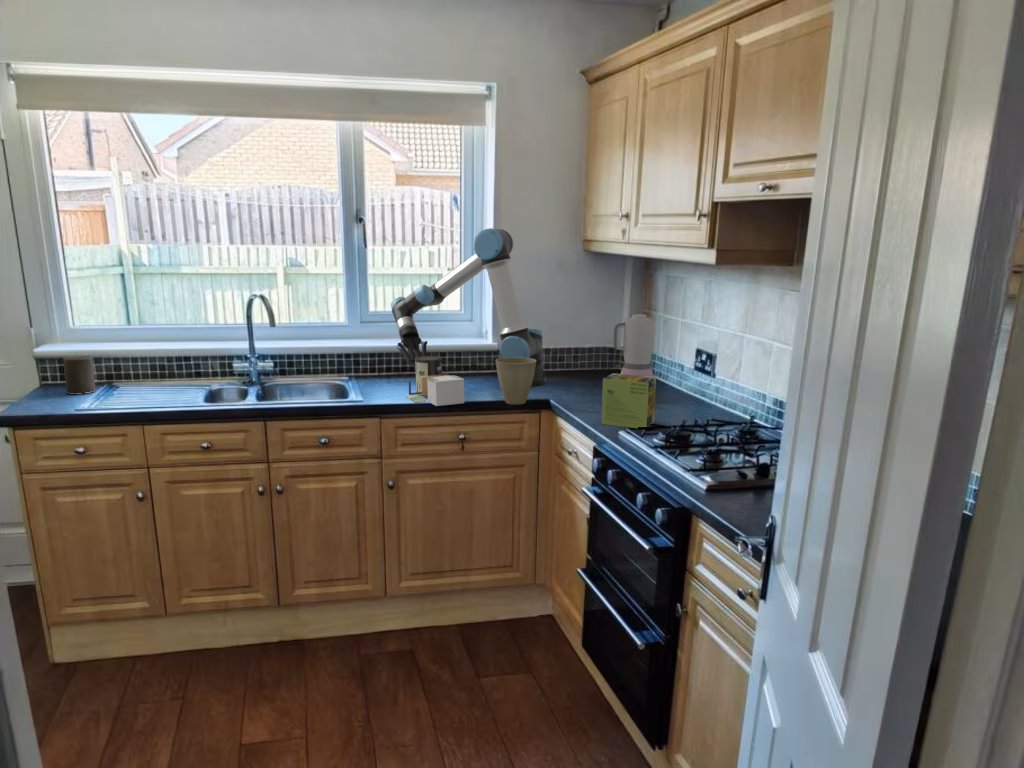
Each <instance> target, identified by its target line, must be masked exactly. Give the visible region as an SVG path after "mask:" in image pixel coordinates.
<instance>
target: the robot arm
mask: <svg viewBox="0 0 1024 768" xmlns="http://www.w3.org/2000/svg"><path fill="white" fill-rule="evenodd" d="M472 247H473V249H472V250H473V252H474V253H473V254H471V256H469V257H467V259H465V260H464V261H463V262H461V263H460V264H458V266H456V267H455V268H453V269H452V270H451V271H450V272H448V273H447V274H445V275H444V276H442V278H440V279H439V280H437V281H436V282H435V283H434V284H432V285H431V286H428V285H426V284H422V285H420V286H419V287H417V288H416V289H415V290H413V292H412V293H410V294H408V295H407V296H406V297H404V296H397V297H396V298H393V299H392V301H391V303H390V308H391V313H392V315H393V319H394V320H395V324H396V327H397V332H398V334H399V338H400V342H398V343H397V346H396V348H397V349H398V351H400V353H401V354H402V356H403V357H404V359H405V362H406V363H407V364H408V365H411V366H412V368H414V371H415V372H416V361H415V358H417V357H421V356H428V353H427V345H428V340H422V338H421V337H420V334H419V331H418V329H417V325H416V322H415V319H414V316H413V315H415V314H416V313H418V312H419V311H420V310H422V309H424V308H428V307H431V306H438V305H440V304H442V303H443V302H444V301H445V299H446V298H447V297H448V296H449V295H451V294H452V293H454V292H455V291H457V290H458V289H459V288H461V287H462V286H463V285H465V284H466V283H467V282H470V280H471V279H473V278H474V277H476V276H477V275H478V274H480V273H481V272H482V271H484V270H486V272H487V274H488V279H489V283H490V287H491V292H492V294H493V299H494V302H495V306H496V307H495V308H496V310H497V315H498V318H499V322H500V326H501V331H500V332H499V337H500V341H501V343H500V346H499V354H500V355H501V358H508V357H523V358H531V359H535V360H536V366H535V372H534V377H533V381H532V385H531V387H532V386H534V387H535V386H541V385H545V384H547V377H546V373H545V369H544V366H543V338H544V336H543V331H542V329H540V328H529V327H528V326H527V325H526V324H524V323H523V318H522V315H521V311H520V307H519V303H518V299H517V293H516V291H515V286H514V283H513V279H512V276H511V275H512V274H511V271H510V267H509V263H510V261H511V256H510V254H511V253H512V251H513V249H514V248H513V247H514V240H513V237H512V235H511V234H510V233H509V232H507V230H504V229H503V228H502V229H501V228H500V229H499V228H498V229H496V228H486V229H483V230H480V231H479V232H478V233H477V234H476V235H475V237H474V239H473V244H472ZM420 346H421V350H420ZM421 352H422V353H421Z"/></svg>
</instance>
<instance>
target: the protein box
mask: <svg viewBox="0 0 1024 768" xmlns="http://www.w3.org/2000/svg"><path fill="white" fill-rule="evenodd" d="M656 383H657V376H653V377H652V376H640V375H627V374H621V373H615V372H614V373H611V374H609V375H607V376H605V377H603V379H602V393H601V395H602V396H601V419H600V420H601V421H600V424H601V425H606V426H614V427H624V428H631V429H638V427H647V426H648V425H650V424H652V425H653V424H654V423H655V410H656V409H655V407H656V388H657V387H656V386H657V384H656ZM650 426H651V425H650Z"/></svg>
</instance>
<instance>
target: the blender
mask: <svg viewBox="0 0 1024 768" xmlns="http://www.w3.org/2000/svg"><path fill="white" fill-rule="evenodd" d="M656 320H657V319H655V318H654V319H653V318H652V317H647V314H640V313H639V314H638V313H637V314H632V316H631V317H625V318H624V322H620V323H617V324H616V325H615V326H614V327H613V328H614V329H613V348H614V349H615V350H616V351H622V352H623V358H624V364H623V366H622V368H621V371H620V374H627V375H640V376H652V377H654V373H653V372H654V371H653V369H652V367H651V361H652V354H653V351H654V341H655V340H654V339H655V322H656ZM622 328H623V330H622V331H623V332H622V333H623V334H622V345H619V329H622Z"/></svg>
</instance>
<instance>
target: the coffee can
mask: <svg viewBox="0 0 1024 768" xmlns="http://www.w3.org/2000/svg"><path fill="white" fill-rule="evenodd" d="M442 360H443V357H441V356H436V355H427V356H422V355H421V357H416V358H415V361H416V371H415V386H416V387H415V388H416V389H415V391H416V392H421V387H420V377H424V376H435V375H443V369H442V366H443V365H442V364H443V362H442ZM416 392H415V393H416ZM416 395H418V396H420V397H428V395H423V396H422V395H421V394H416Z"/></svg>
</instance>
